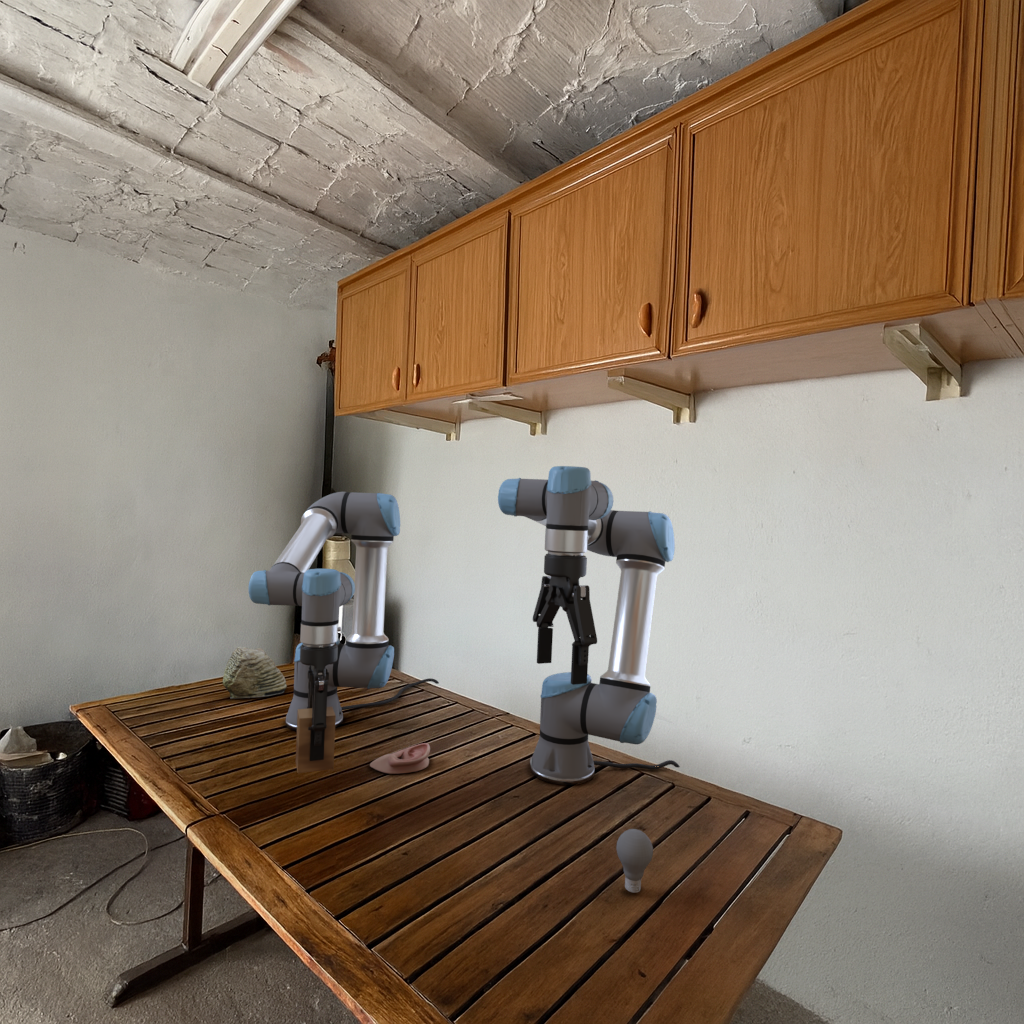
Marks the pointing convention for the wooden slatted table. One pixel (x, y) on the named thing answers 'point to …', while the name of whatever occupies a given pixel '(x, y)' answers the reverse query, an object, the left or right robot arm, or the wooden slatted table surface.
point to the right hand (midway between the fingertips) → (560, 672)
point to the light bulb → (634, 857)
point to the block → (304, 742)
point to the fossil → (252, 674)
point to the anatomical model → (404, 760)
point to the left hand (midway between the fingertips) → (315, 753)
